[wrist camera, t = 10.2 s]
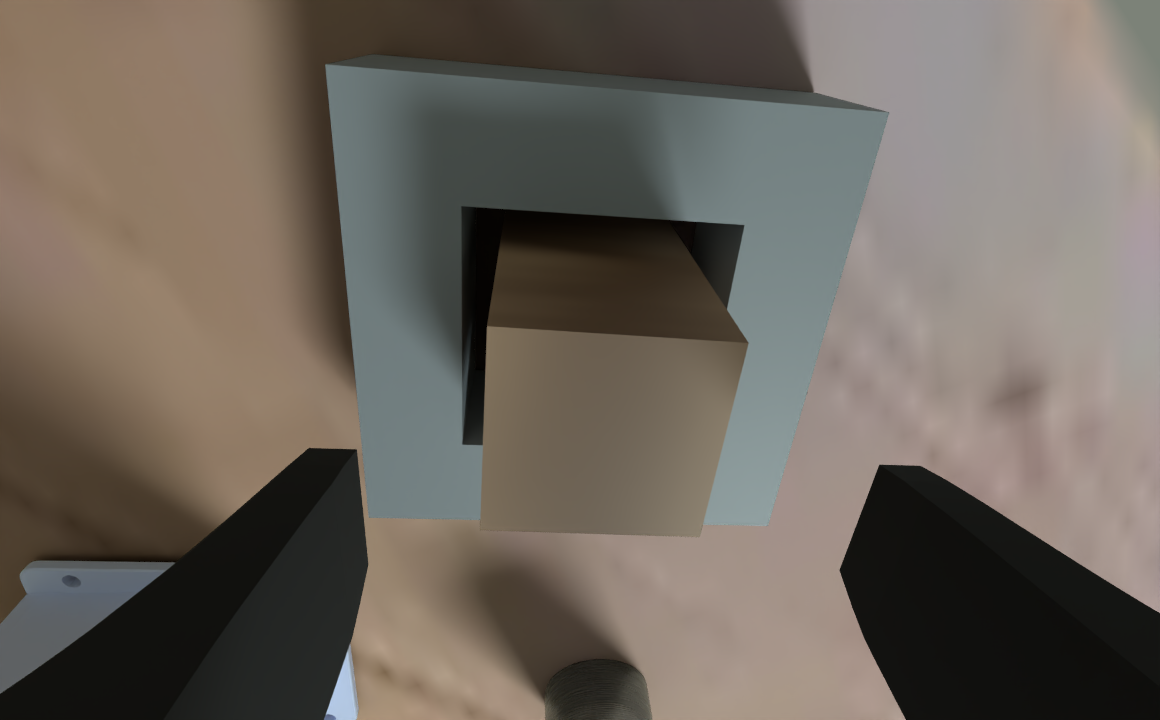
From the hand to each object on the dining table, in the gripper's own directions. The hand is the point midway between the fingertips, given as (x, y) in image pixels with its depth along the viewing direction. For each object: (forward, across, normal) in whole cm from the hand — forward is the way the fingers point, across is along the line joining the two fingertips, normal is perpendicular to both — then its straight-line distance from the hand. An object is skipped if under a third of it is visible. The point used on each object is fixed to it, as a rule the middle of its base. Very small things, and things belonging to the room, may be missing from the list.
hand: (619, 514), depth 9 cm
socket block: (+9, 0, 0) cm, 9 cm away
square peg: (+9, 0, 0) cm, 9 cm away
